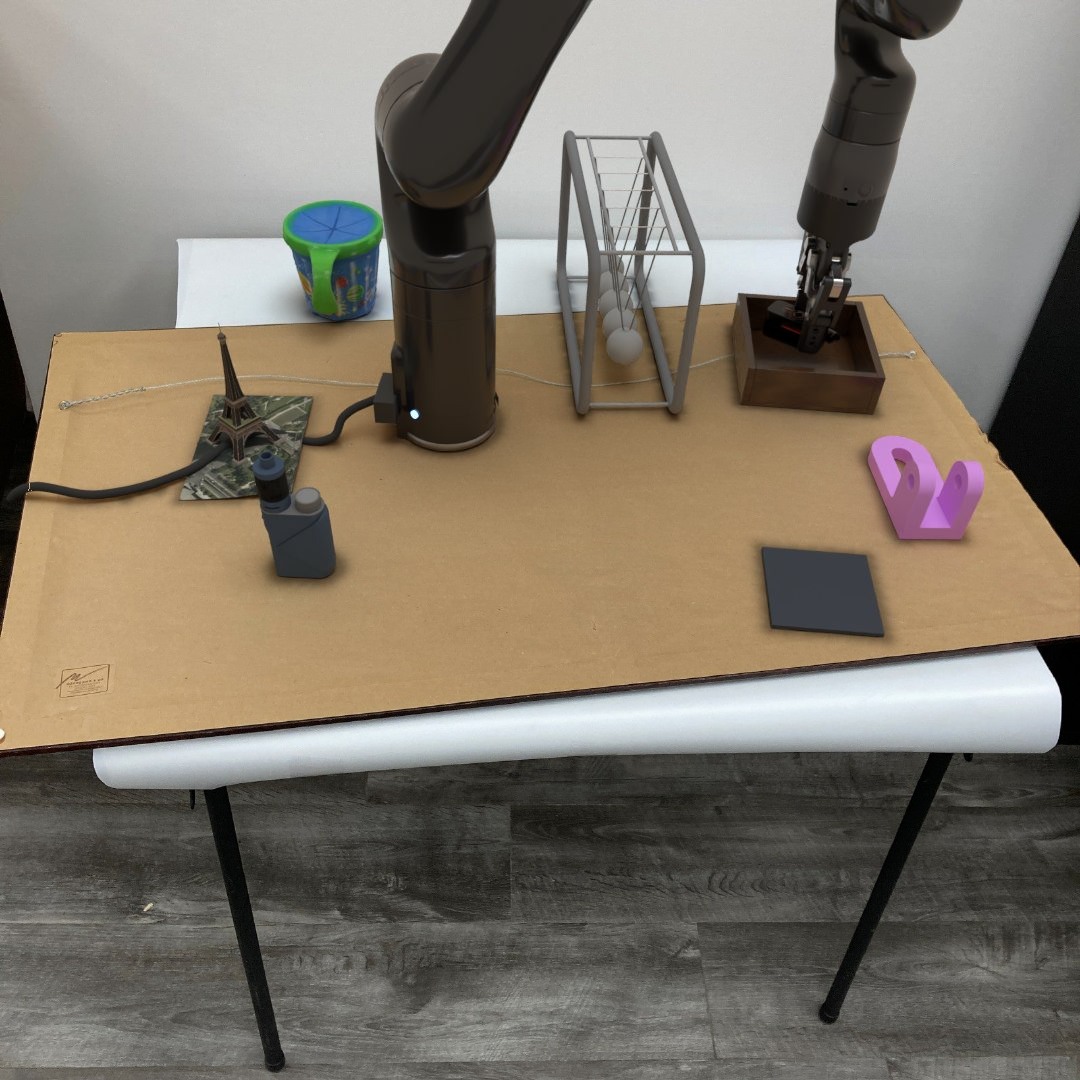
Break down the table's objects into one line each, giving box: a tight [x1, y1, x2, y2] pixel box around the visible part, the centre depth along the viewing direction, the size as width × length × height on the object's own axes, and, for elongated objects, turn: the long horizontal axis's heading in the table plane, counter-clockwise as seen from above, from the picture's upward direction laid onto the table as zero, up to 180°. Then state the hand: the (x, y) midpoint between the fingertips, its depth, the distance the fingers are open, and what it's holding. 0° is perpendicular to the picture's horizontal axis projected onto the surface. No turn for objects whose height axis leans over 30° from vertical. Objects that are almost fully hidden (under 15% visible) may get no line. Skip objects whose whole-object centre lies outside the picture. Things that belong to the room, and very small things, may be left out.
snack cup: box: [282, 199, 384, 322], centre depth 107 cm, size 16×10×10 cm
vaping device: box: [252, 451, 337, 579], centre depth 77 cm, size 3×5×12 cm, turn 88°
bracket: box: [867, 435, 985, 541], centre depth 89 cm, size 13×6×7 cm, turn 1°
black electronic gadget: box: [762, 300, 841, 355], centre depth 103 cm, size 5×7×3 cm, turn 52°
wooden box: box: [730, 292, 887, 415], centre depth 104 cm, size 14×15×4 cm
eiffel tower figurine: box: [178, 322, 314, 501], centre depth 88 cm, size 15×10×13 cm
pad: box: [761, 546, 886, 638], centre depth 82 cm, size 9×9×1 cm
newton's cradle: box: [556, 129, 706, 415], centre depth 102 cm, size 30×10×18 cm, turn 3°
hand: (804, 336), depth 102 cm, fingers closed on black electronic gadget, 5 cm apart
